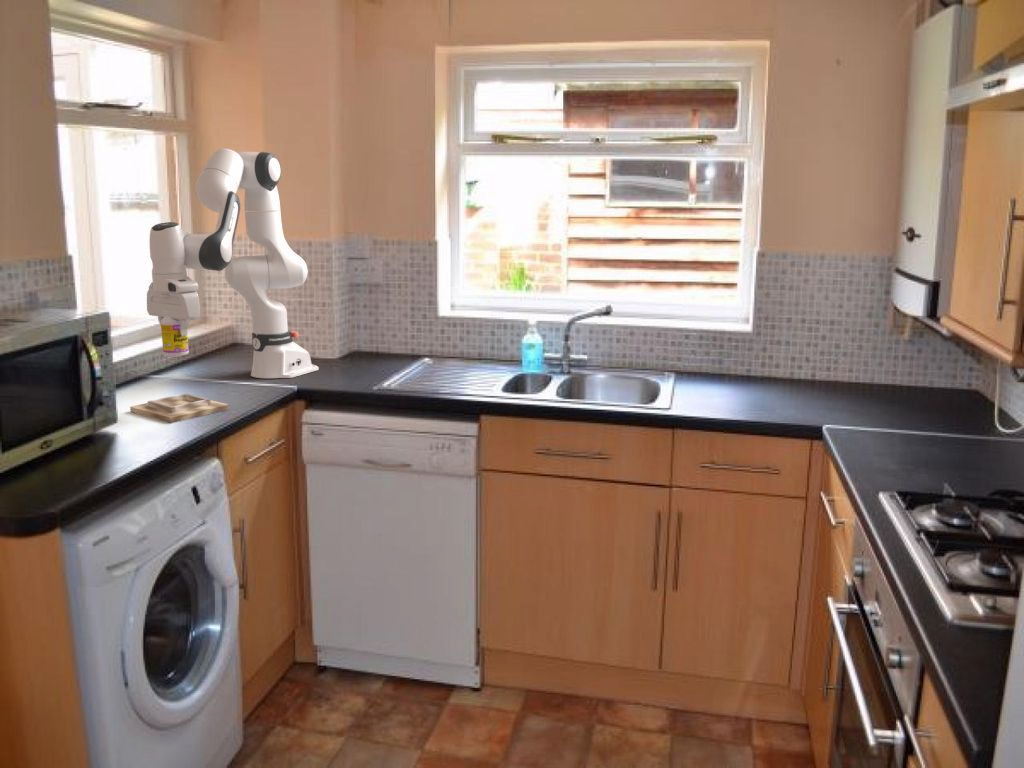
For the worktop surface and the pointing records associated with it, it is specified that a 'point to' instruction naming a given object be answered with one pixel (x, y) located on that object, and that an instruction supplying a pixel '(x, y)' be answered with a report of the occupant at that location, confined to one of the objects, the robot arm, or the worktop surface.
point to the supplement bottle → (173, 337)
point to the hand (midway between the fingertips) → (174, 334)
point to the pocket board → (179, 407)
